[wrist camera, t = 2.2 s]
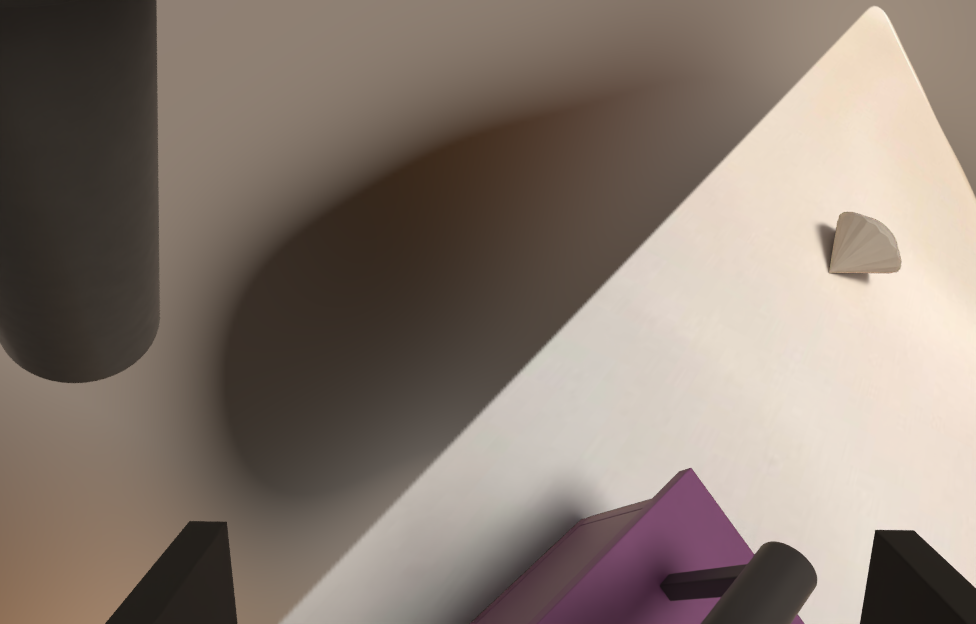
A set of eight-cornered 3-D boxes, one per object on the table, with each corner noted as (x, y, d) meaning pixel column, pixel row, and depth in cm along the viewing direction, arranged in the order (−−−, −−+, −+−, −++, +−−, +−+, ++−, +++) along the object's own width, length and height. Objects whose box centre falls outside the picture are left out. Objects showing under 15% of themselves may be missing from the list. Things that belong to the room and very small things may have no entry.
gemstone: (826, 243, 50) (882, 201, 49) (789, 241, 56) (838, 203, 55) (873, 307, 50) (928, 265, 50) (830, 298, 56) (879, 260, 56)
